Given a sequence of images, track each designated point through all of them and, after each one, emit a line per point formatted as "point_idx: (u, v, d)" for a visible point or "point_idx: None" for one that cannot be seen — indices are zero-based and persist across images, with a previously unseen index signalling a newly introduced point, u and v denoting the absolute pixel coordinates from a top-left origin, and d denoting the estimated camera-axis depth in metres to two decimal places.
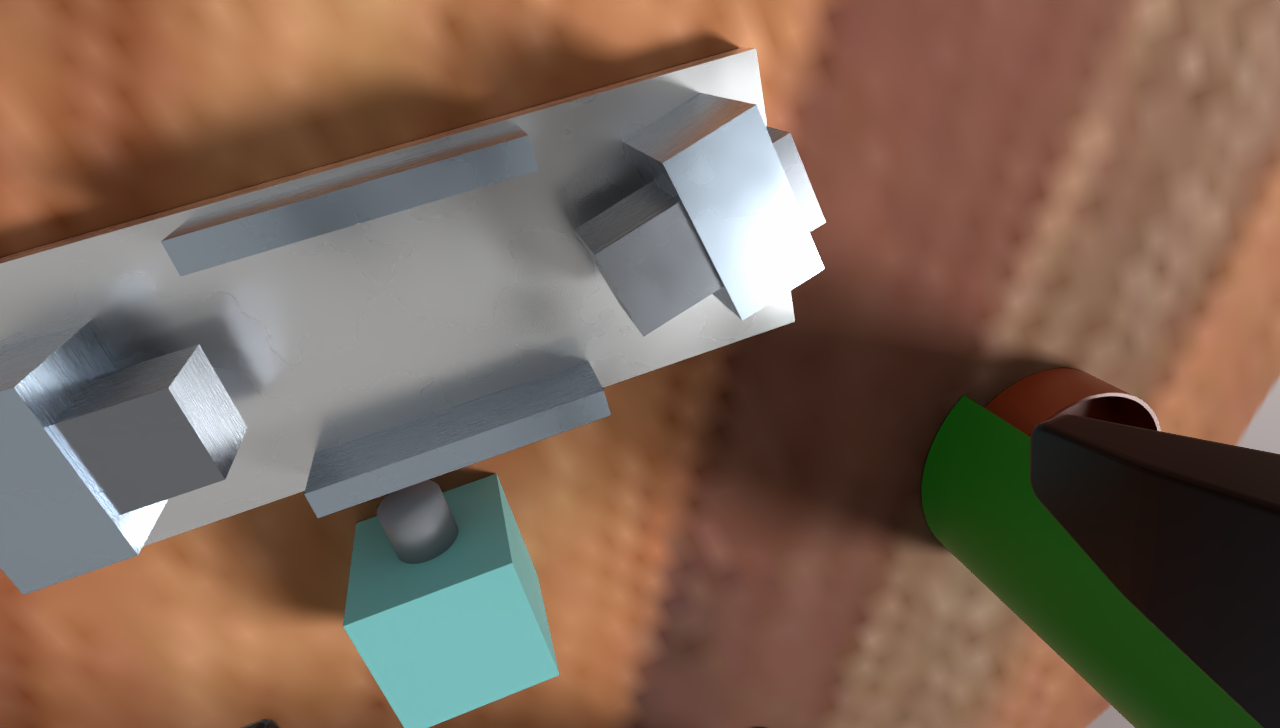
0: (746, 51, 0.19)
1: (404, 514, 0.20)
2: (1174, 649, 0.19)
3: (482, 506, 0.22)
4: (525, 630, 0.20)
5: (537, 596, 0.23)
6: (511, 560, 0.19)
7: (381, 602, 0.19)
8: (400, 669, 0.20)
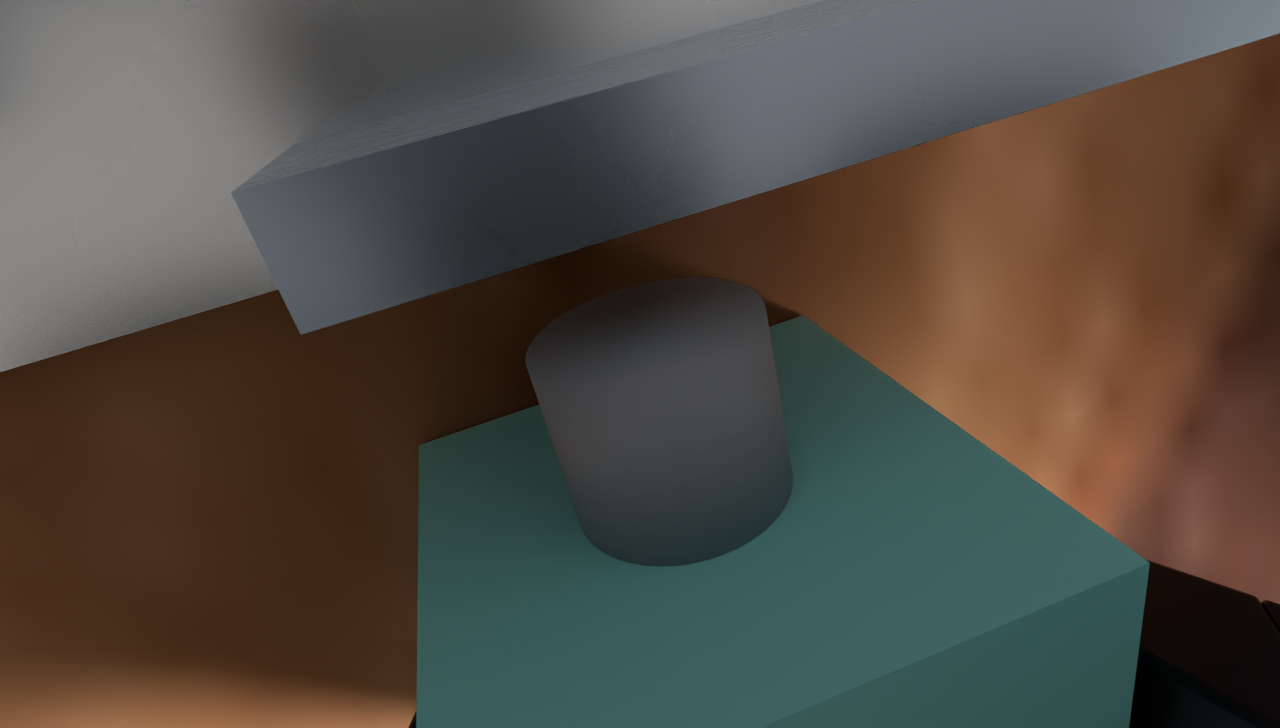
0: None
1: (653, 364, 0.05)
2: None
3: (821, 387, 0.07)
4: None
5: None
6: (1127, 552, 0.04)
7: None
8: None
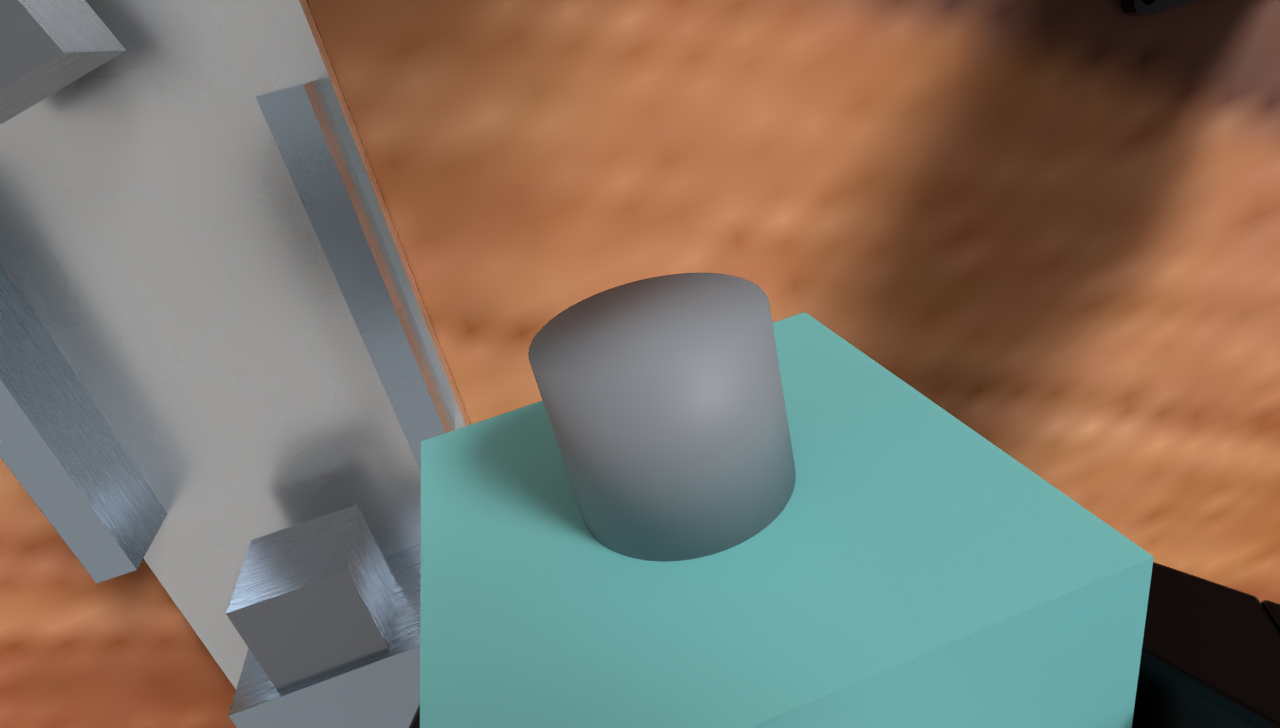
0: None
1: (656, 359, 0.05)
2: None
3: (823, 382, 0.07)
4: None
5: None
6: (1131, 546, 0.04)
7: None
8: None
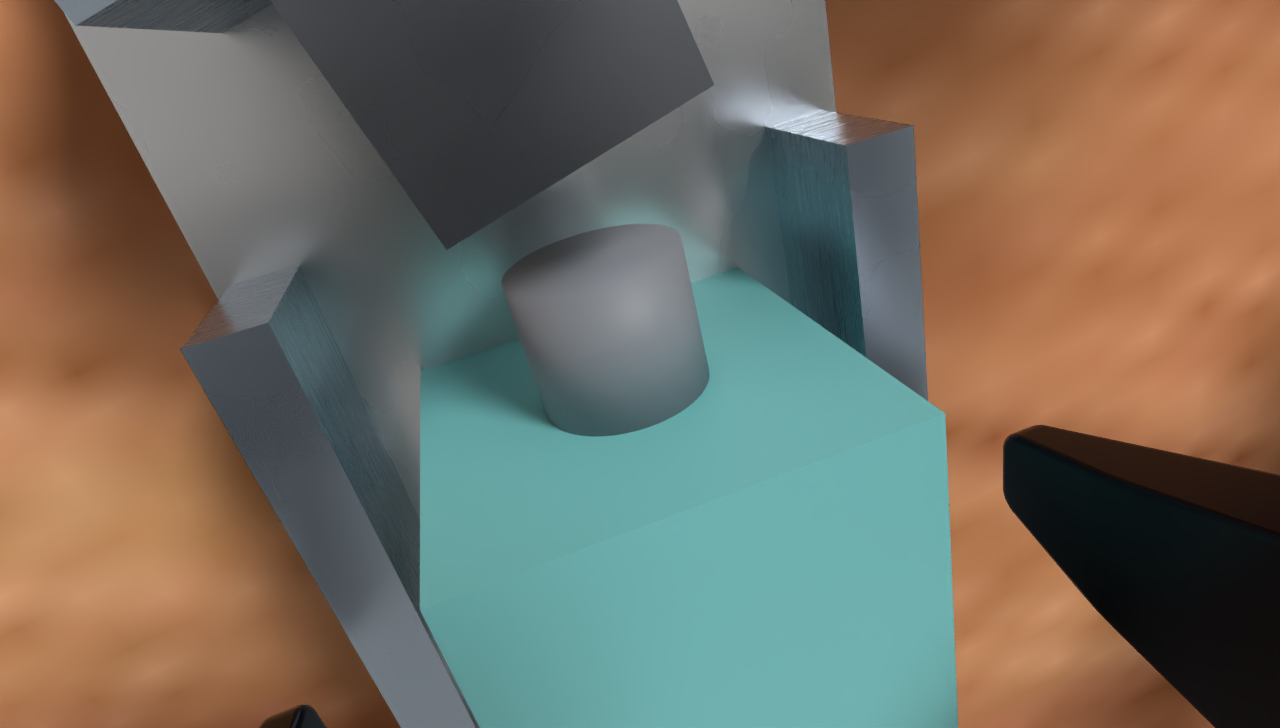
0: None
1: (594, 278, 0.07)
2: None
3: (743, 316, 0.09)
4: (919, 629, 0.07)
5: None
6: (933, 409, 0.06)
7: (539, 534, 0.06)
8: None
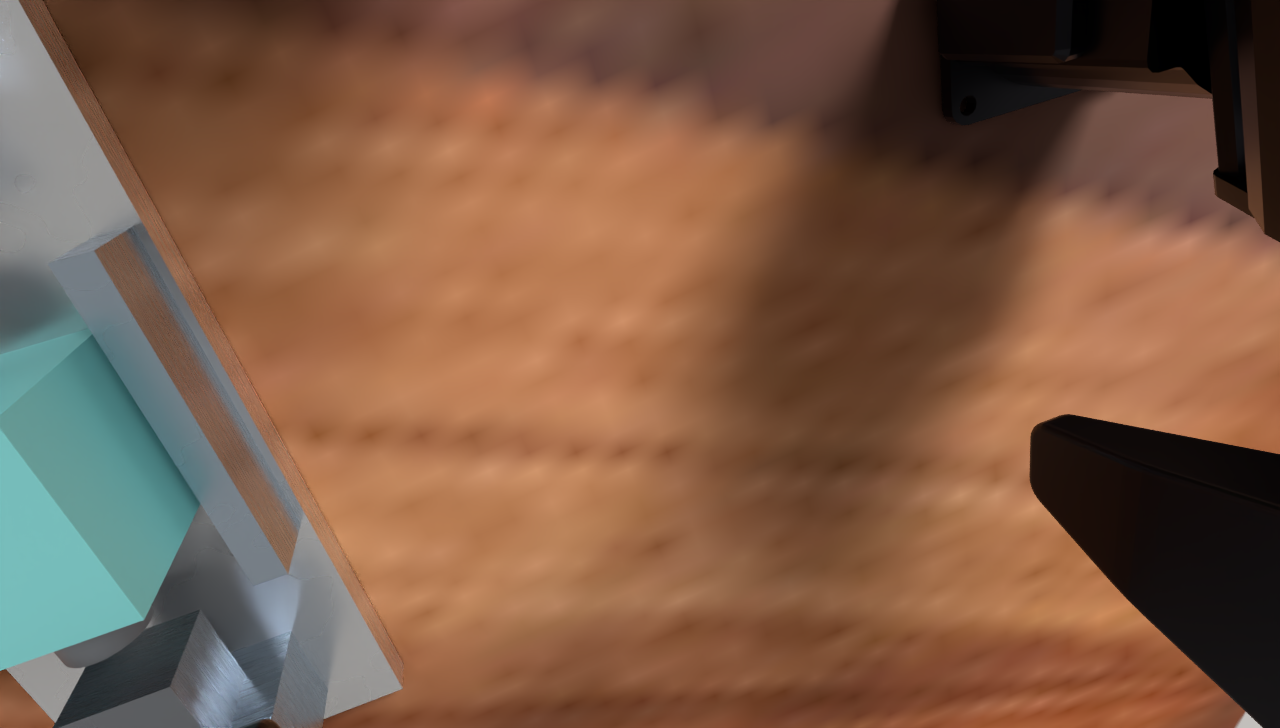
0: None
1: None
2: None
3: (42, 359, 0.14)
4: (56, 542, 0.13)
5: (151, 506, 0.15)
6: None
7: None
8: None
